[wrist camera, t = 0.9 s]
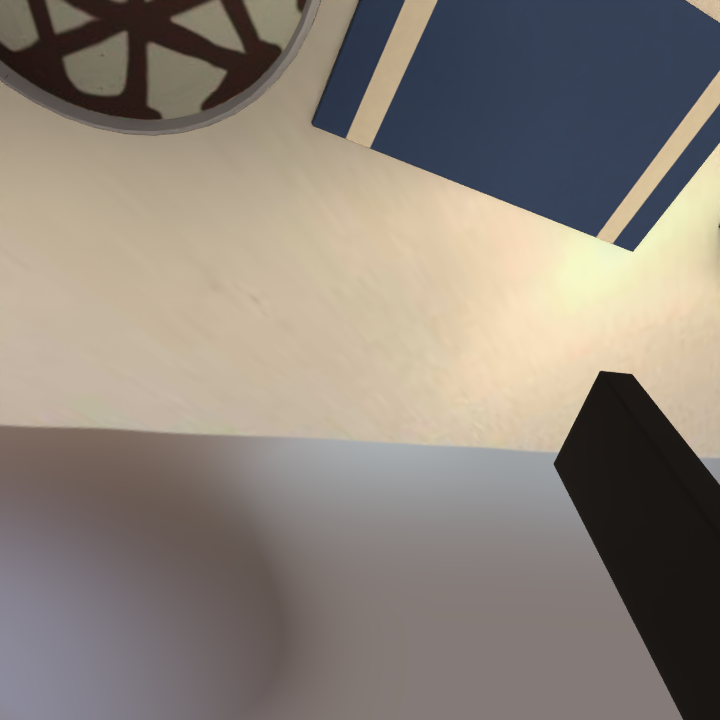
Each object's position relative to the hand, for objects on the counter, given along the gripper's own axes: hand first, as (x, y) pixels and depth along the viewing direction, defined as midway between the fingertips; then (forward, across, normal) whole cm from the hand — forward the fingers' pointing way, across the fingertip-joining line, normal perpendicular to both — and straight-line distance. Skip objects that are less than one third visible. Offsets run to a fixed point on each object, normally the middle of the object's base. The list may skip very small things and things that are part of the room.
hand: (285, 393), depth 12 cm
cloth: (+23, +13, +4) cm, 26 cm away
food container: (+21, -6, +5) cm, 22 cm away
